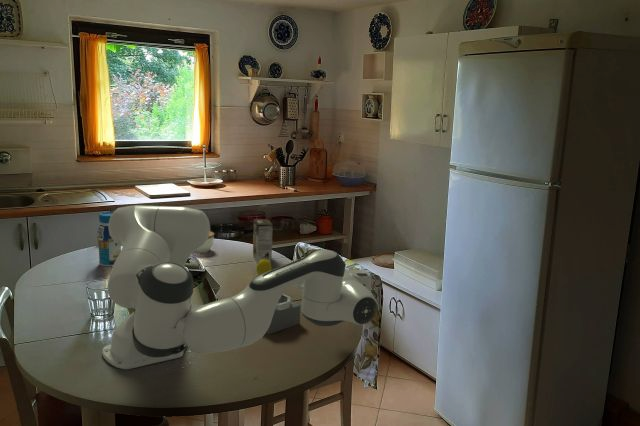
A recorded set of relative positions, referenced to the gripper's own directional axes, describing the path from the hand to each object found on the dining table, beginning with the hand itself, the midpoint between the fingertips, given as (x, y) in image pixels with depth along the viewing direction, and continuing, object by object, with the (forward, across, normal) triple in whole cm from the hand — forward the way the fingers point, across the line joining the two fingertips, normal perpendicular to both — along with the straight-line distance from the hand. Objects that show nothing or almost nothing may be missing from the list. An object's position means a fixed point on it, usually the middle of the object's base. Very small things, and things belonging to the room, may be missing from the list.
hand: (324, 271), depth 161 cm
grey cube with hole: (+9, -12, -19) cm, 24 cm away
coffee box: (+71, -1, -19) cm, 74 cm away
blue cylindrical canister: (+77, -60, -19) cm, 100 cm away
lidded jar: (+87, -24, -19) cm, 92 cm away
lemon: (+48, -6, -19) cm, 52 cm away
